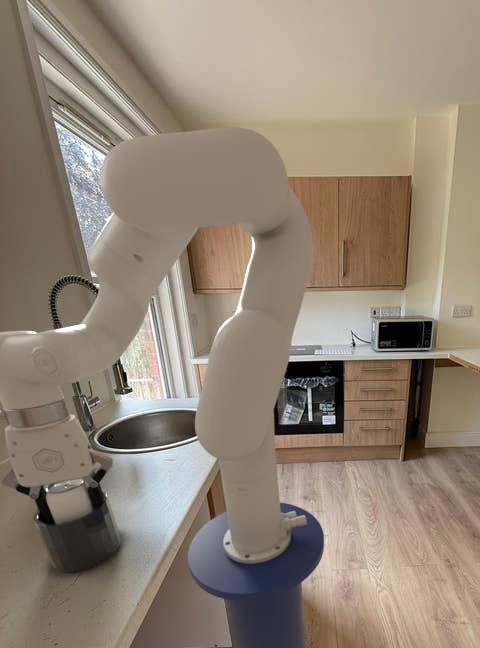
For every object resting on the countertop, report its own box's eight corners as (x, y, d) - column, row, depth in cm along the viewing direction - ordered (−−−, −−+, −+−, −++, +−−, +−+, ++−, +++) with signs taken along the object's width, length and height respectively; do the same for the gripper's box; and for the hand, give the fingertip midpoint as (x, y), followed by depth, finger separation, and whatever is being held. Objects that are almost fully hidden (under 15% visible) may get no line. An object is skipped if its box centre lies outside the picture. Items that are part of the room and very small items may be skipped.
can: (93, 525, 68) (73, 471, 63) (114, 534, 65) (95, 478, 61) (57, 546, 63) (33, 489, 58) (79, 556, 60) (56, 497, 55)
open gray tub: (124, 526, 71) (111, 484, 68) (116, 562, 62) (101, 516, 58) (62, 540, 68) (45, 497, 64) (44, 580, 59) (23, 532, 55)
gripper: (-45, 431, 48) (5, 534, 55) (97, 412, 54) (126, 508, 61) (-19, 414, 55) (23, 509, 62) (105, 399, 60) (131, 487, 67)
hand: (74, 508), depth 61 cm, fingers closed on can, 6 cm apart
